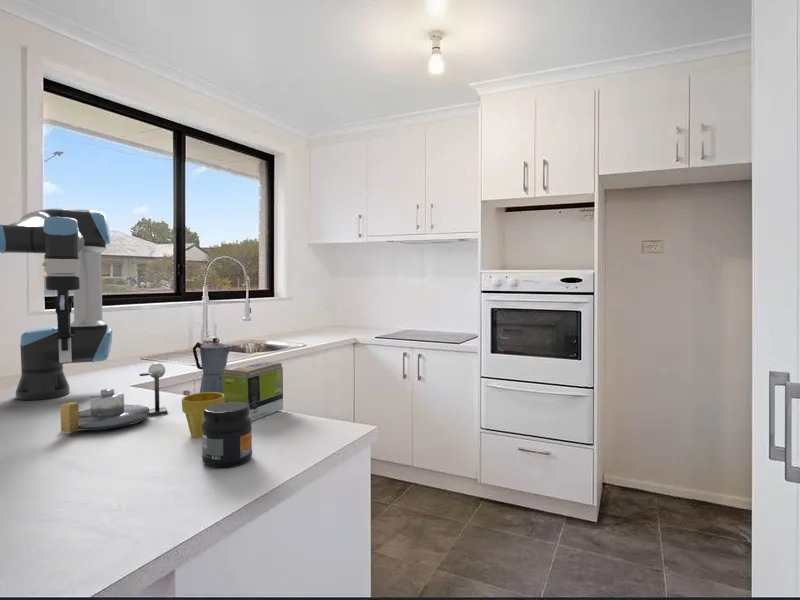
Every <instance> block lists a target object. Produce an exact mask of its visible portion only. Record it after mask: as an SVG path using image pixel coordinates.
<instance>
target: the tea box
mask: <svg viewBox="0 0 800 600" xmlns="http://www.w3.org/2000/svg"><path fill="white" fill-rule="evenodd" d="M283 388H284V387H283V367H282V362H272V361H259V360H257V361H253V362H252V361H251V362H247V363H245V364H244V363H242V364H239V365H235V366H231V367H225V369H223V394H224V395H225V402H243V403H246V404H248V405H249V406H250V414H249V415H248V416H249V417H250V418H251V419H252V420H253V421H256V420H258V419H260V418H263V417H266V416H268V415H272V414H274V413H276V412H275V411H277V412H279V411H282V410H284V398H283V397H284V396H283V395H284V394H283V393H284V392H283V390H284V389H283Z"/></svg>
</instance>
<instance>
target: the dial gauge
mask: <svg viewBox="0 0 800 600" xmlns="http://www.w3.org/2000/svg"><path fill="white" fill-rule="evenodd" d="M165 373H166V368H165V366H164V365H163V364H162V363H160V362H155V363H153V364H151V365H150V366H149V368H148V372H147V373H145V372H144V373H139V374H138V375H139V377H145V376H150V377H151V378H153V379H154V380H153V381H154V408H149V417H154V415H156V416H161V414H164V415H168V414H169V413H168V409H167V407H166V406H164V407H160V378H162V377H163V376H164V374H165Z"/></svg>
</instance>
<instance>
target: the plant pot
mask: <svg viewBox="0 0 800 600" xmlns="http://www.w3.org/2000/svg"><path fill="white" fill-rule="evenodd" d="M223 402H225V395H224V394H223V393H219V392H203V393H200V392H197V393H191V394H188V395H185V396H183V397H182V398H181V410H182V412H183V413H184V414H185V417H186V421H187V425H188V429H189V433H190V436H191V437H192V438H193V437H194V438H202V428H201V425H202V423H203V422H204V420H205V419H204V408H206V407H207V406H209V405H213V404H217V403H223Z"/></svg>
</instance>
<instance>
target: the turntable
mask: <svg viewBox="0 0 800 600" xmlns="http://www.w3.org/2000/svg"><path fill="white" fill-rule="evenodd" d="M59 407H60V432H61V433H67V434H71V433H74V432H77V431H94V430H96V431H98V430H106V429H107V430H109V429H113V428H119V427H125V426H129V425H133V424H136V423H139V422H142V421H144V420H146V419H147V418H149V417H150V416H149V409H150V408H149V407H148V406H145V405H142V404H141V405H140V404H124V413H123V414H120V415H117V416H112V417H103V418H96V417H91V408H88V409H84V410H80V409H79V402H72V401H69V402H66V403H60V406H59ZM79 410H80V411H79Z"/></svg>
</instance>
